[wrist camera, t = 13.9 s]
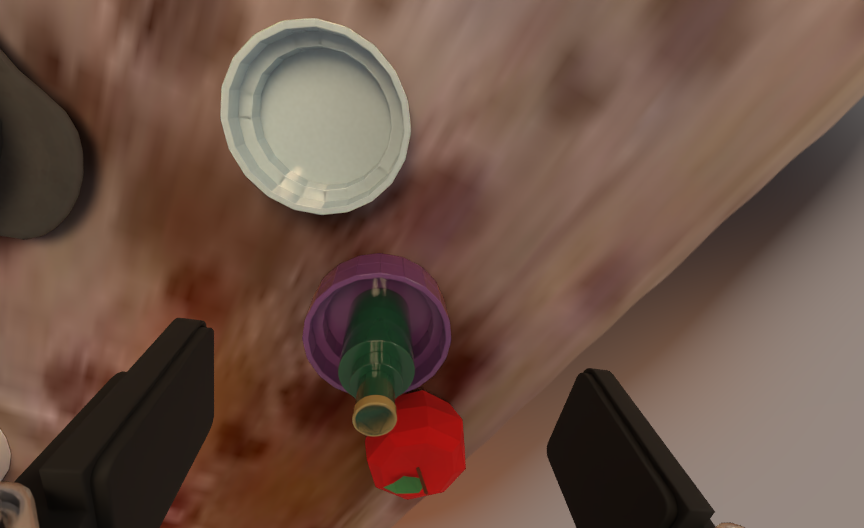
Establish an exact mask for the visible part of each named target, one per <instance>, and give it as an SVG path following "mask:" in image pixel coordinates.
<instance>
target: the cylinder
mask: <svg viewBox="0 0 864 528" xmlns="http://www.w3.org/2000/svg"><path fill="white" fill-rule="evenodd" d="M10 458H11V452H10V449H9V445H8V442H7V438H6V437H5V435H4V434H3V432H2V431H1V429H0V481H2V479H3V478H4V476H5V474H6V473H7V471H8V470H9V466H10Z"/></svg>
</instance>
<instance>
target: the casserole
mask: <svg viewBox="0 0 864 528" xmlns="http://www.w3.org/2000/svg"><path fill="white" fill-rule="evenodd" d="M82 179H83V150H82V146H81V142H80V138H79V134H78V131H77V129H76V128H75V126H74V124H73V123H72V121H71V119H70V118H69V116H68V114H67V113H66V111H64V110H63V109H62V108H61V107H60V106H59V105H58V104H57V103H56V102H55V101H54V100H53V99H51V98H50V97H49V96H48V95H47V94H46V93H45V92H44V91H43V90H41V89H40V88H39V87H38V86H37V85H36V84H34V83H33V82H32V81H31V80H30V79H29V78H27V77H26V76H25V75H24V74H23V73H22V72H20V71H19V70H18V69H17V67H16V66H15V65H14V64H13V63H12V62H11V61H10V59H9V58H8V57H7V56H6V55H5V54H4V53H3V51H2V50H1V49H0V236H6V237H12V238H18V239H29V238H35V237H41V236H43V235H45V234H47V233H48V232H50V231H52V230H53V229H55V228H57V227H58V225H59V224H60V223H61V222H62V221H63V220H64V219H65V218H66V217H67V216H68V215H69V213H70V212H71V210H72V208H73V206H74V204H75V202H76V200H77V198H78V196H79V193H80V188H81V184H82Z"/></svg>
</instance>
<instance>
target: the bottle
mask: <svg viewBox="0 0 864 528" xmlns="http://www.w3.org/2000/svg"><path fill="white" fill-rule="evenodd" d="M414 375H415V365H414V354H413V343H412V332H411V321H410V311H409V307H408V304H407V302H406V301H405V299H404V298H403V297H402V296H401V295H399V294H398V293H397V292H395V291H392V290H390V289H386V288H373V289H369V290H366V291H364V292H362V293H361V294H359V295H358V296H357V297H356V298H355V299H354V300H353V302H352V303H351V305H350V308H349V312H348V318H347V323H346V329H345V334H344V340H343V345H342V351H341V356H340V361H339V367H338V376H339V380H340V383H341V385H342V386H343V388H344V389H345V390H346V391H347V392H348V393H349V394H350V395H352V396H353V397H354V398H355V399H356V403H355V406H354V409H353V416H352V422H353V425H354V427H355V429H356V430H357V431H358V432H360V433H361V434H364V435H366V436H381V435H384V434H386V433H388V432H390V431H391V430H392V429H393V428H394V426H395V425H396V422H397V408H396V406H395V399H396V398H397V397H398V396H400V395H401V394H403V393H404V392H405V391H406V390H407V389H408V388H409V386H410V385H411V383H412V381H413V379H414Z"/></svg>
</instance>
